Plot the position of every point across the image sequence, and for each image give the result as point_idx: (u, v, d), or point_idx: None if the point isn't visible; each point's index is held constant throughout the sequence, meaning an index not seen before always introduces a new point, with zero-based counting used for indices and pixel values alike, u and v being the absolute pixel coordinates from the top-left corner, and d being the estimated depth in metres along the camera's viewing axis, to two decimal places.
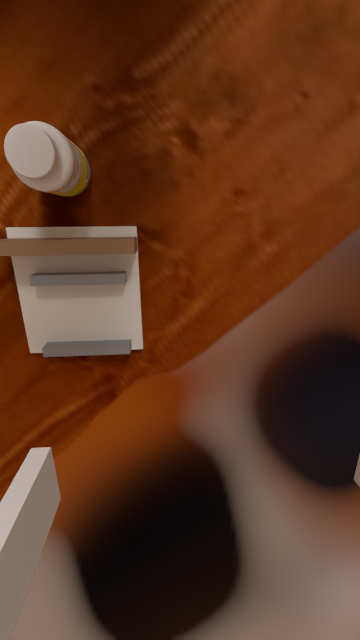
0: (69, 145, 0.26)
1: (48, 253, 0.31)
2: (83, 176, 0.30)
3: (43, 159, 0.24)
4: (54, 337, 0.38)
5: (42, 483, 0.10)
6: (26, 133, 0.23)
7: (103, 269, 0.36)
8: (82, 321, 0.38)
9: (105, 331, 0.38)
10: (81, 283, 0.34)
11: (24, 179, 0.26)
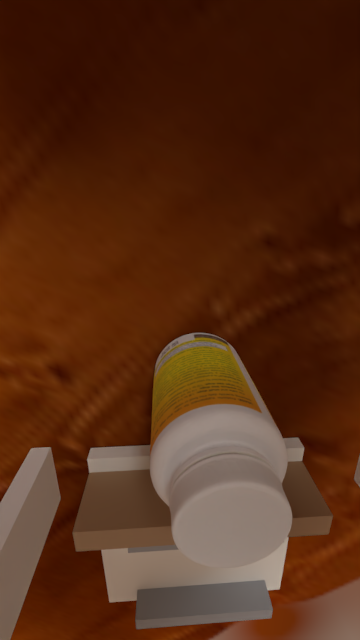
0: (283, 442, 0.11)
1: None
2: None
3: (264, 539, 0.09)
4: (149, 583, 0.24)
5: (42, 483, 0.10)
6: (236, 501, 0.09)
7: None
8: (195, 563, 0.24)
9: (227, 573, 0.25)
10: None
11: None
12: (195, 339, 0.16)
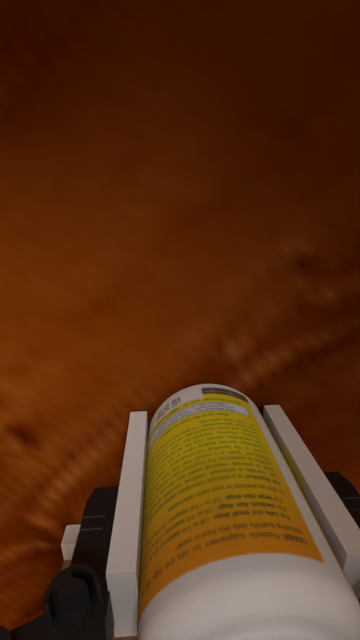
0: None
1: None
2: None
3: None
4: None
5: (146, 439, 0.13)
6: None
7: None
8: None
9: None
10: None
11: None
12: (204, 397, 0.12)
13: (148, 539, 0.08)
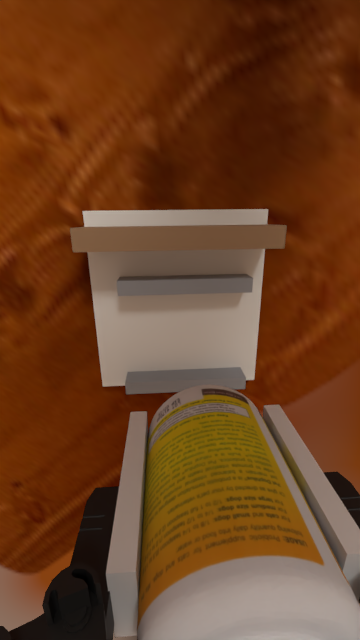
0: (358, 606, 0.07)
1: (157, 247, 0.20)
2: None
3: None
4: (137, 365, 0.28)
5: (146, 439, 0.13)
6: None
7: (214, 271, 0.25)
8: (178, 343, 0.27)
9: (207, 356, 0.28)
10: (190, 292, 0.24)
11: None
12: (204, 398, 0.12)
13: (148, 541, 0.08)
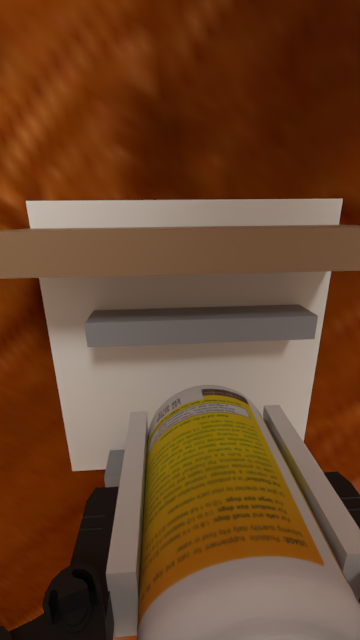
0: (358, 607, 0.07)
1: (155, 270, 0.11)
2: None
3: None
4: (125, 440, 0.18)
5: (146, 439, 0.13)
6: None
7: (249, 301, 0.15)
8: None
9: None
10: (211, 339, 0.14)
11: None
12: (204, 398, 0.12)
13: (148, 541, 0.08)
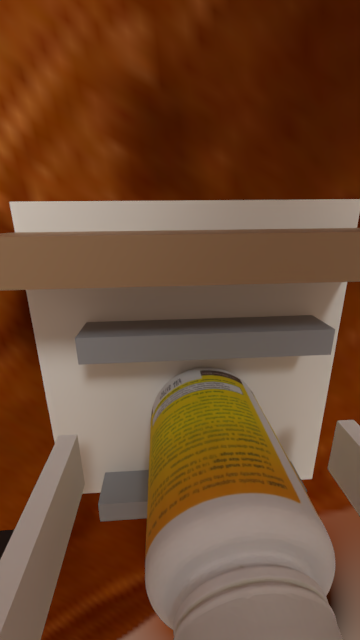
0: None
1: (153, 280, 0.09)
2: None
3: None
4: (122, 462, 0.17)
5: (71, 467, 0.11)
6: None
7: (257, 311, 0.14)
8: None
9: None
10: (216, 355, 0.12)
11: None
12: (202, 378, 0.13)
13: (154, 492, 0.10)
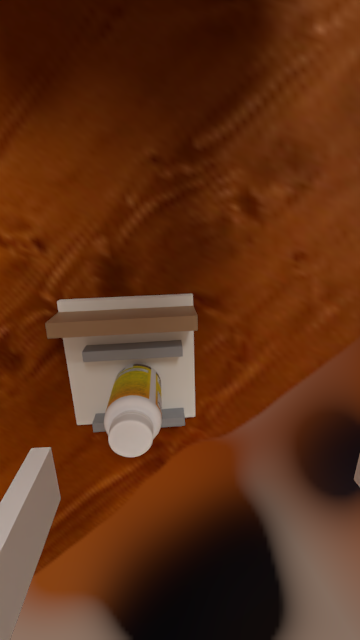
0: (159, 411, 0.28)
1: (107, 333, 0.29)
2: None
3: (142, 444, 0.26)
4: (103, 408, 0.36)
5: (42, 483, 0.10)
6: (129, 427, 0.25)
7: (157, 339, 0.34)
8: None
9: None
10: (136, 357, 0.32)
11: None
12: (133, 367, 0.33)
13: (108, 402, 0.29)
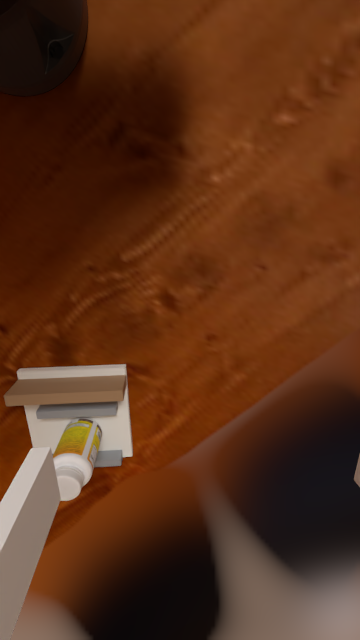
0: (89, 464, 0.37)
1: (52, 402, 0.38)
2: None
3: (73, 491, 0.35)
4: None
5: (42, 483, 0.10)
6: (62, 481, 0.34)
7: None
8: None
9: (100, 444, 0.45)
10: (79, 416, 0.41)
11: None
12: (77, 421, 0.42)
13: (53, 454, 0.38)
